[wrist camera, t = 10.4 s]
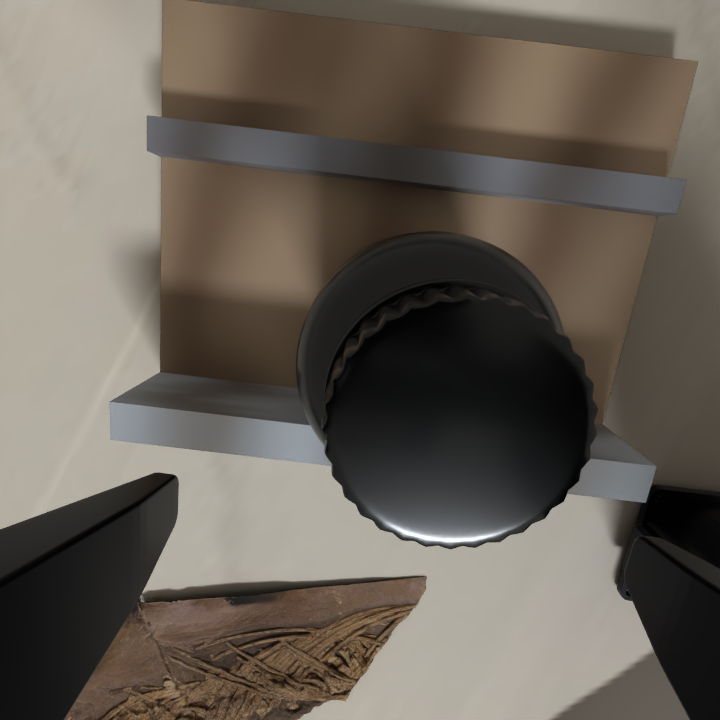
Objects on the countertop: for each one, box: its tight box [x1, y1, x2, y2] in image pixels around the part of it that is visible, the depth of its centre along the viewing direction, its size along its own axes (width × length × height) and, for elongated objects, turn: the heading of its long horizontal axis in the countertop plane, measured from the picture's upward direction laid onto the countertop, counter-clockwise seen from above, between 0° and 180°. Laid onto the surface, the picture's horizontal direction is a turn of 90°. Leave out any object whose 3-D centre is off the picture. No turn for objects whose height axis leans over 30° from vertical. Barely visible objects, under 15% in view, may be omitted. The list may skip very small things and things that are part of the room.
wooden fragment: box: [64, 576, 427, 720], centre depth 26 cm, size 26×11×1 cm, turn 111°
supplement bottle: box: [296, 231, 598, 549], centre depth 13 cm, size 7×7×12 cm
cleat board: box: [110, 0, 698, 503], centre depth 17 cm, size 20×16×6 cm
